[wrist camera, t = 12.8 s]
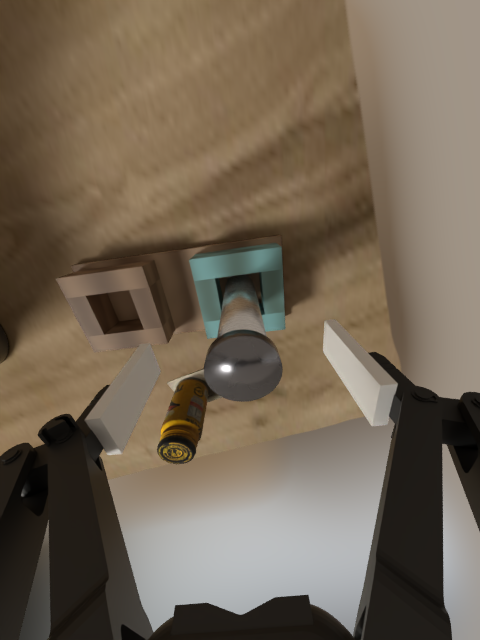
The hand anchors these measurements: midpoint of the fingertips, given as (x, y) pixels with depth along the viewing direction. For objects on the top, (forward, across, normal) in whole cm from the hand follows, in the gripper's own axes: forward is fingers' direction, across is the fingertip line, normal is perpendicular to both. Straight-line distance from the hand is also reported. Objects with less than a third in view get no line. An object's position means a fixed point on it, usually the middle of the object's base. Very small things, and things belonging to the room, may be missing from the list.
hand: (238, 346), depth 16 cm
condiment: (+17, -10, -19) cm, 27 cm away
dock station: (+16, -7, 0) cm, 18 cm away
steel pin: (+15, 0, 0) cm, 15 cm away
